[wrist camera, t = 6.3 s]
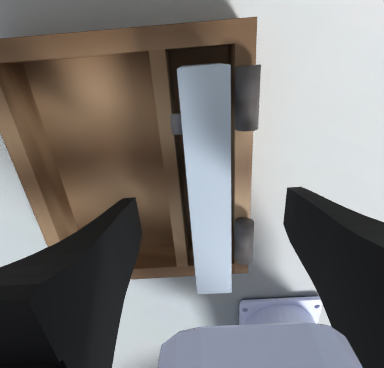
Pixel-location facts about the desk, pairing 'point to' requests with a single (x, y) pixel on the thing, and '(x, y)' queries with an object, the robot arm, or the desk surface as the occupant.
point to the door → (207, 169)
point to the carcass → (125, 130)
